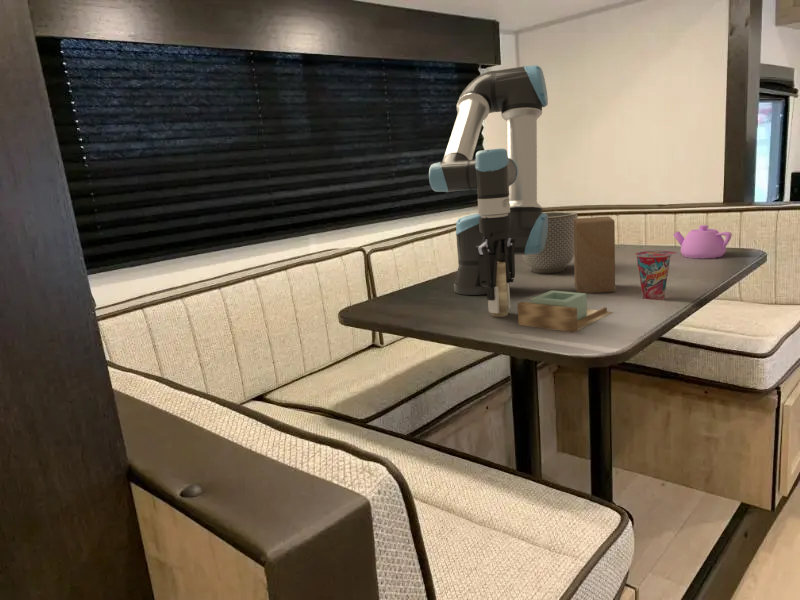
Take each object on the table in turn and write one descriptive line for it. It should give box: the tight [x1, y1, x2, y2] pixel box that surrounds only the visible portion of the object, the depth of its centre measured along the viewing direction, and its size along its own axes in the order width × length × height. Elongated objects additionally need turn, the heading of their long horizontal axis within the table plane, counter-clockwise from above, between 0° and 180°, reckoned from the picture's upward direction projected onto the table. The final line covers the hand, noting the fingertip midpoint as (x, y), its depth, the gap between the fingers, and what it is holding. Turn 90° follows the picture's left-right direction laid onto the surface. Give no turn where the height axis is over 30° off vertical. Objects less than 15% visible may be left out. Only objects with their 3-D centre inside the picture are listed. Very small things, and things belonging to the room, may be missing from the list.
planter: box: [521, 210, 578, 274], centre depth 200 cm, size 20×20×19 cm
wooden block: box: [573, 216, 616, 294], centre depth 167 cm, size 10×10×20 cm
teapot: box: [672, 224, 732, 259], centre depth 203 cm, size 14×20×11 cm
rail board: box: [517, 301, 614, 333], centre depth 138 cm, size 14×19×6 cm
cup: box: [635, 250, 678, 301], centre depth 151 cm, size 9×8×12 cm
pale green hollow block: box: [530, 289, 588, 321], centre depth 136 cm, size 9×9×6 cm
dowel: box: [491, 262, 509, 318], centre depth 146 cm, size 4×4×14 cm
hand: (499, 310), depth 147 cm, fingers closed on dowel, 4 cm apart
